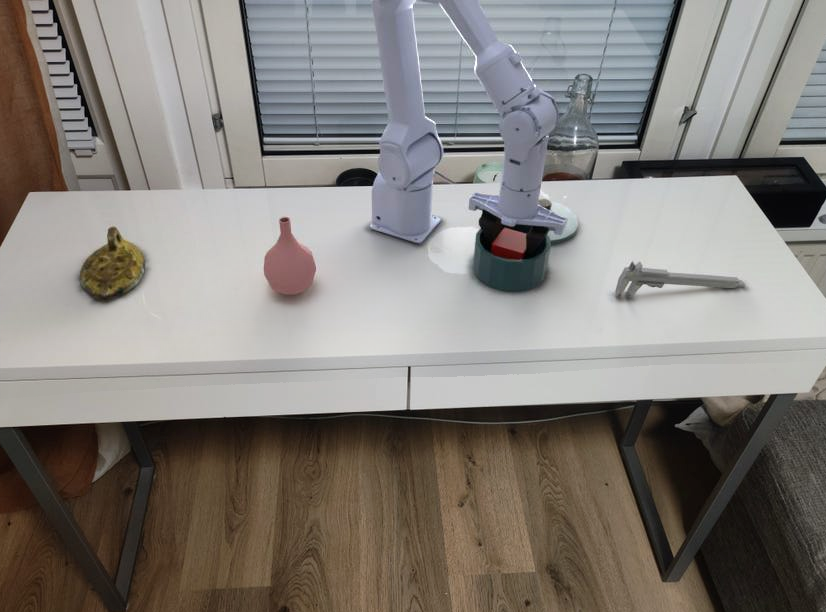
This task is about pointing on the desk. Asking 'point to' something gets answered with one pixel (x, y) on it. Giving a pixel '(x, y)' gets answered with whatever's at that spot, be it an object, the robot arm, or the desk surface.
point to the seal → (112, 268)
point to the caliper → (668, 279)
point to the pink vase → (289, 263)
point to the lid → (564, 212)
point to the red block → (509, 245)
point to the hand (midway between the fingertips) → (510, 259)
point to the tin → (510, 264)
